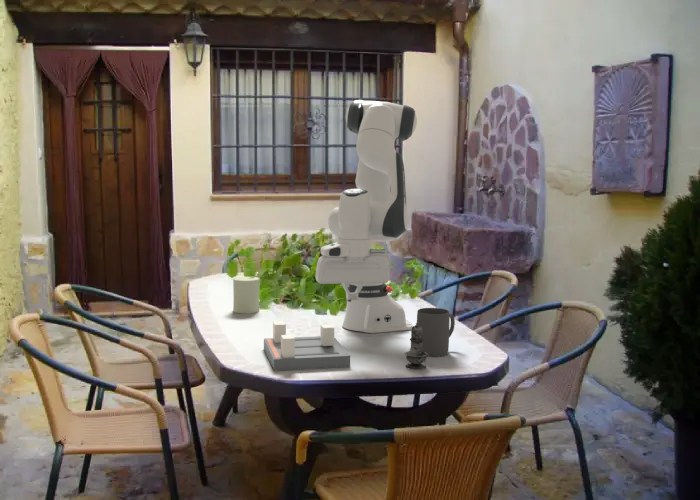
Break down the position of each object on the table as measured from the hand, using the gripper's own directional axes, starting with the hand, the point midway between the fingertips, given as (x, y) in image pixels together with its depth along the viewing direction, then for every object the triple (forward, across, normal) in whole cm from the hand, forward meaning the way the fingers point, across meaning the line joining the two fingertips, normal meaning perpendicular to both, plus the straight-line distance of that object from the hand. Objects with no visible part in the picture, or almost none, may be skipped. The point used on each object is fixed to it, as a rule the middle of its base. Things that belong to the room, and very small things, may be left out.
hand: (352, 299), depth 205 cm
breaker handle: (+12, +7, -1) cm, 14 cm away
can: (+15, +22, -65) cm, 70 cm away
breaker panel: (+16, +13, -1) cm, 20 cm away
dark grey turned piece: (+16, -14, +14) cm, 25 cm away
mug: (+16, -25, 0) cm, 30 cm away
